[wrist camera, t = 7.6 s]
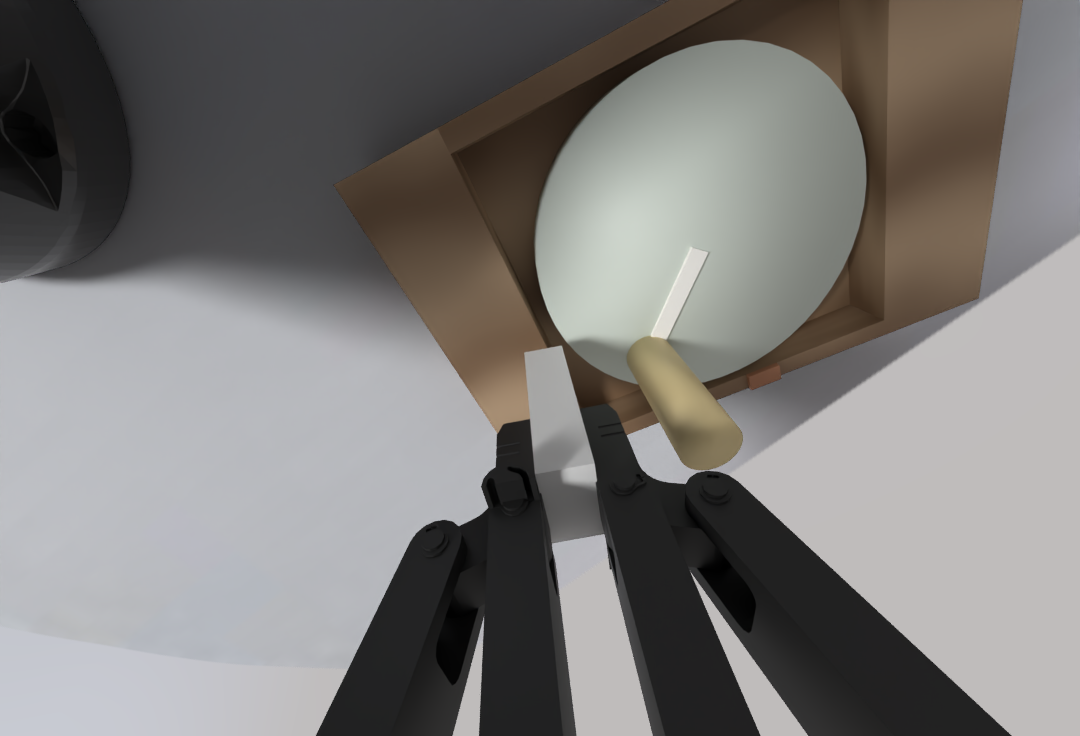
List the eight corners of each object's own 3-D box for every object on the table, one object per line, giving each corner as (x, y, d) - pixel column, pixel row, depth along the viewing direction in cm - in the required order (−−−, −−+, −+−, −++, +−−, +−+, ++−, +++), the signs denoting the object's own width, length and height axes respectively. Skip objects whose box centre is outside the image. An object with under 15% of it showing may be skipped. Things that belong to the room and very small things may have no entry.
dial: (502, 338, 18) (500, 449, 11) (593, -10, 12) (693, -194, 6) (734, 390, 21) (843, 506, 14) (900, 119, 15) (1220, 97, 8)
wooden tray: (369, 177, 17) (330, 185, 13) (911, -119, 13) (1066, -220, 10) (522, 426, 24) (524, 477, 20) (898, 272, 21) (984, 300, 17)
